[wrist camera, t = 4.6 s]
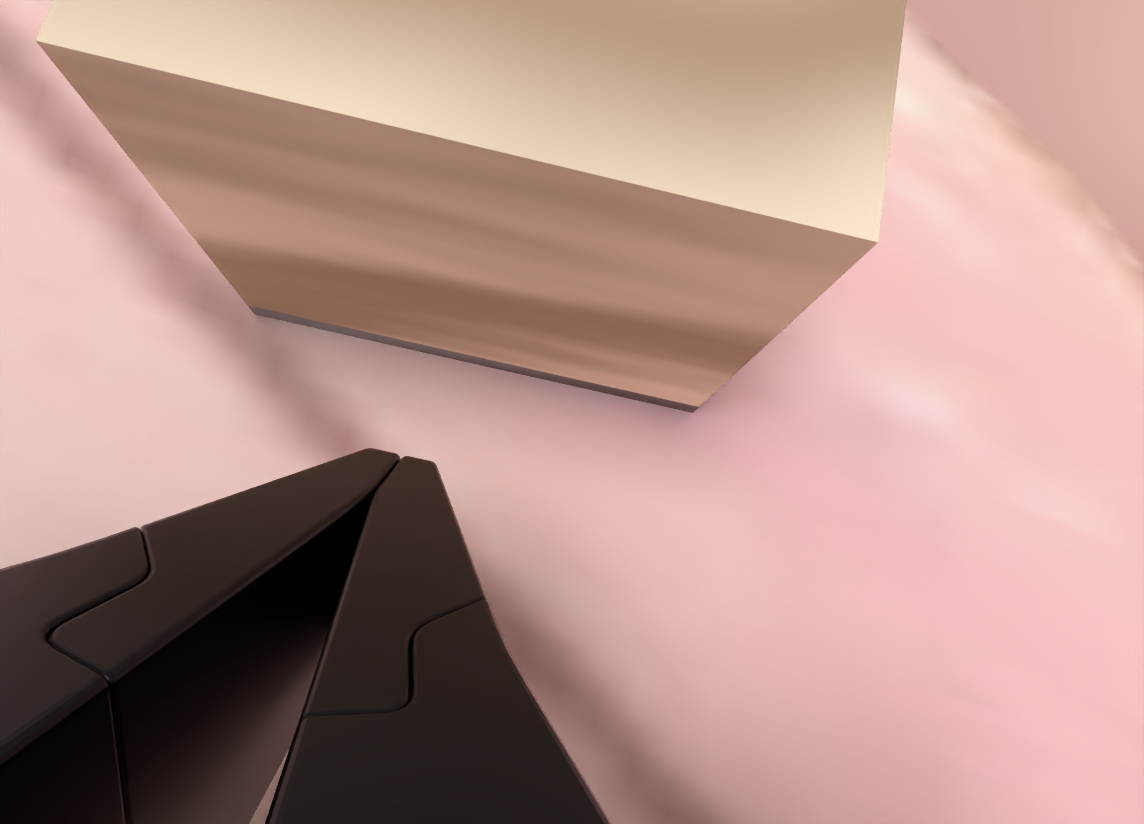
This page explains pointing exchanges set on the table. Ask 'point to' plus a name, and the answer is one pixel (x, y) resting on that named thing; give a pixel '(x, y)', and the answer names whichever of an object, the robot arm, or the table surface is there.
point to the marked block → (511, 166)
